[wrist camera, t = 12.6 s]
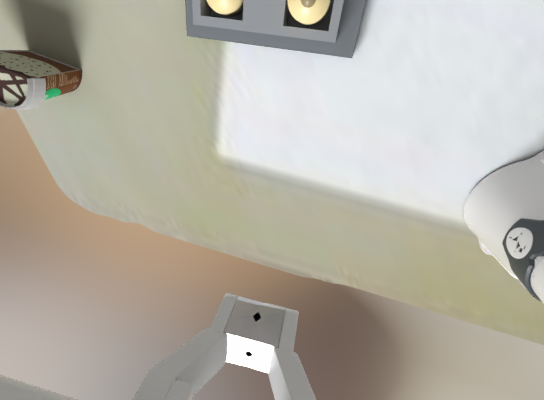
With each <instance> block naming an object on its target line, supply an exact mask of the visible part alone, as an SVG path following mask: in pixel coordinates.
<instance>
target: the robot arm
mask: <svg viewBox="0 0 544 400" xmlns="http://www.w3.org/2000/svg"><path fill="white" fill-rule="evenodd" d="M464 219H465V222H466V224H467V226H468V228H469V229H470V230H471V231H472V232H473V233H474V234H475V235H476V236H477V238H478V241H479V246H480V248H481V250H482V251H483V252H484V253H485V254H487V255H493V256H494V257H495V258H496V259H497V260H498V261H499V262H500V264H501V265H502V266H503V267H504V268H505V269H506V270H507V271H508V272H509V273H510V274H511V275H512V276H513V277H515V278H517V279H519V280H518V281H519V282H520V283H521V284H522V286H523V287H524V288H525V289H526V290H528V291H529V292H530V294H531V295H532V296H533V297H535V298H536V299H537V300H539V301H541V302H542V303H543V304H544V150H543V151H542V152H540V153H538V154H537V155H535V156H534V157H532V158H529V159H527V160H524V161H520V162H517V163H513V164H510V165H508V166H505V167H503V168H501V169H499V170H497V171H495V172H493V173H491V174H490V175H488V176H487V177H486V178H484V179H483V180H482V181H481V182H480V183H478V184H477V185H476V187H475V188H474V189H473V190H472V191H471V193H470V194H469V196H468V198H467V200H466V203H465V206H464ZM297 320H298V311H296V310H292V309H287V308H286V309H285V307H281V306H276V305H272V304H268V303H264V302H258V301H254V300H250V299H247V298H243V297H240V296H236V295H232V294H228V293H226V294H225V296H224V298H223V300H222V302H221V304H220V306H219V308H218V311H217V313H216V315H215V317H214V320H213V322H212V324H211V327H210V329H204V330H203V331H202V332H200V333H199V334H197V335H196V336H195V337H193V338H192V339H191V340H189V341H188V342H187V343H185V344H184V345H183V346H181V347H180V348H179V349H177V350H176V351H174V352H173V353H172V354H171V355H169V356H168V357H166V358H165V359H164V360H162V361H161V362H159V363H158V364H157V365H155V366H154V367H153V368H151V369H150V370H149V372H148V374H147V375H146V377H145V379H144V380H143V382H142V384H141V386H140V387H139V389H138V391H137V392H136V394H135V396H134V398H133V400H193V396H194V395H195V394H196V392H198V391H199V390H200V389H201V387H203V385H205V384H206V383H207V382H208V381H209V380H210V378H212V377H213V376H214V375H215V374H216V373H217V372H218V371H219V370H220V368H222V366H224V365H225V363H226V362H230V363H234V364H238V365H242V366H246V367H249V368H253V369H256V370H259V371H262V372H265V373H268V374H269V379H270V382H271V386H272V390H273V394H274V398H275V400H316V398H315V396H314V393H313V391H312V388H311V386H310V384H309V381H308V379H307V376H306V374H305V372H304V369H303V367H302V365H301V362H300V360H299V357H298V355H297V353H294V352H293V350H294V342H295V335H296V328H297ZM0 400H77V399H73V398H71V397H68V396H64V395H62V394H58V393H55V392H52V391H49V390H46V389H43V388H40V387H37V386H33V385H31V384H27V383H24V382H21V381H18V380H15V379H12V378H9V377H6V376H3V375H0Z"/></svg>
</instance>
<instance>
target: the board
mask: <svg viewBox="0 0 544 400" xmlns="http://www.w3.org/2000/svg"><path fill="white" fill-rule="evenodd" d="M365 1H366V0H331V1H330V6H329V9H328V11H327V13H326V15H325V16H324V18H323V19H322V20H320V21H319V22H317V23H315V24H312V25H306V24H302V23H300V22H299V21H297V20H296V19H295V18H294V17H293V16H292V15H291V13H290V11H289V8H288V1H287V0H243V9H242V11H241V12H240V13H238V14H237V15H234V16H228V15H224V14H220V13H217V12H215V11H214V10H213V9H212V8H211V7H210V6H209V4H208V2H207V0H185V6H186V26H187V36H191V37H199V38H206V39H214V40H221V41H229V42H236V43H243V44H251V45H258V46H266V47H273V48H281V49H288V50H295V51H303V52H310V53H318V54H325V55H333V56H340V57H347V58H352V56H353V52H354V48H355V44H356V39H357V35H358V31H359V27H360V23H361V18H362V14H363V10H364V6H365Z"/></svg>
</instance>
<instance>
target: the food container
mask: <svg viewBox="0 0 544 400" xmlns="http://www.w3.org/2000/svg"><path fill="white" fill-rule="evenodd" d="M81 79H82V70H81V69H79V68H76V67H73V66H70V65H68V64H65V63H62V62H60V61H57V60H54V59H51V58H49V57H46V56H43V55H41V54H38V53H35V52H32V51H30V50H0V106H2V107H5V108H10V109H32V108H35V107H37V106H38V105H40V104H41V102H42V101H43V100H45V99H49V98H52V97H55V96H58V95H62V94H65V93H68V92H72V91H74V90H76V89H77V88H78V87H79V85H80V83H81Z"/></svg>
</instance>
